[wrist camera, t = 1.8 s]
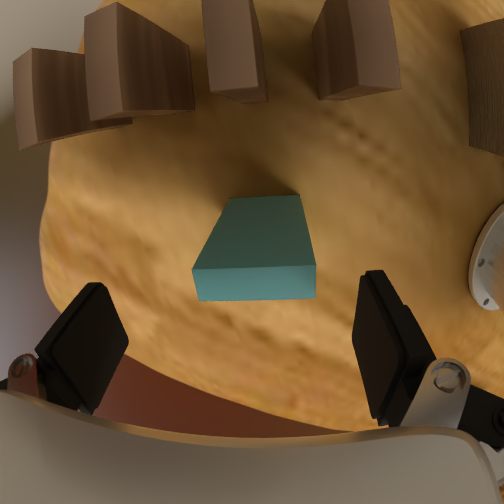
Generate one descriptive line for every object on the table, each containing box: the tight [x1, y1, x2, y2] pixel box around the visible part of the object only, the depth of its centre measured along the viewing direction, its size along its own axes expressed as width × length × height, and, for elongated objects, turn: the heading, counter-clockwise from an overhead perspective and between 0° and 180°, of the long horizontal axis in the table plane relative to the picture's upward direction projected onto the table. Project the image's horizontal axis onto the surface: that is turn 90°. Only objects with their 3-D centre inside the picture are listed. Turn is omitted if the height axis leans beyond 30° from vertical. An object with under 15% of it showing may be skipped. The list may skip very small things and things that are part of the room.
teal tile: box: [192, 195, 316, 301], centre depth 16 cm, size 2×5×10 cm, turn 96°
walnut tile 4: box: [312, 0, 401, 100], centre depth 11 cm, size 2×5×10 cm, turn 6°
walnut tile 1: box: [13, 48, 132, 151], centre depth 13 cm, size 2×5×10 cm, turn 6°
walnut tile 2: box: [84, 2, 195, 121], centre depth 12 cm, size 2×5×10 cm, turn 6°
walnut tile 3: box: [202, 0, 268, 104], centre depth 12 cm, size 2×5×10 cm, turn 6°
